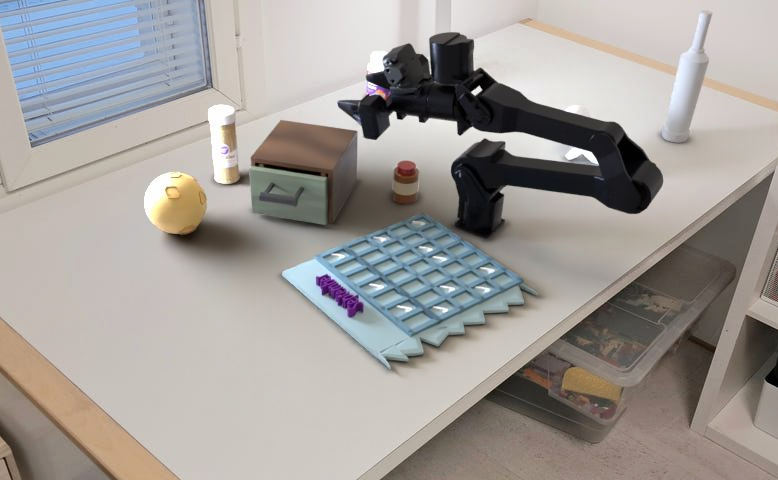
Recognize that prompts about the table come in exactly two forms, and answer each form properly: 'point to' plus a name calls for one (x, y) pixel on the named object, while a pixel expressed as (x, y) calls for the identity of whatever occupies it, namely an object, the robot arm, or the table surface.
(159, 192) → the stress ball
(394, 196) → the spice bottle
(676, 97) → the bottle
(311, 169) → the cabinet
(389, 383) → the table surface
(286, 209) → the drawer
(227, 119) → the sprinkles bottle
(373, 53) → the pill bottle
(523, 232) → the table surface
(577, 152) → the white animal figurine
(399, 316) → the calendar
